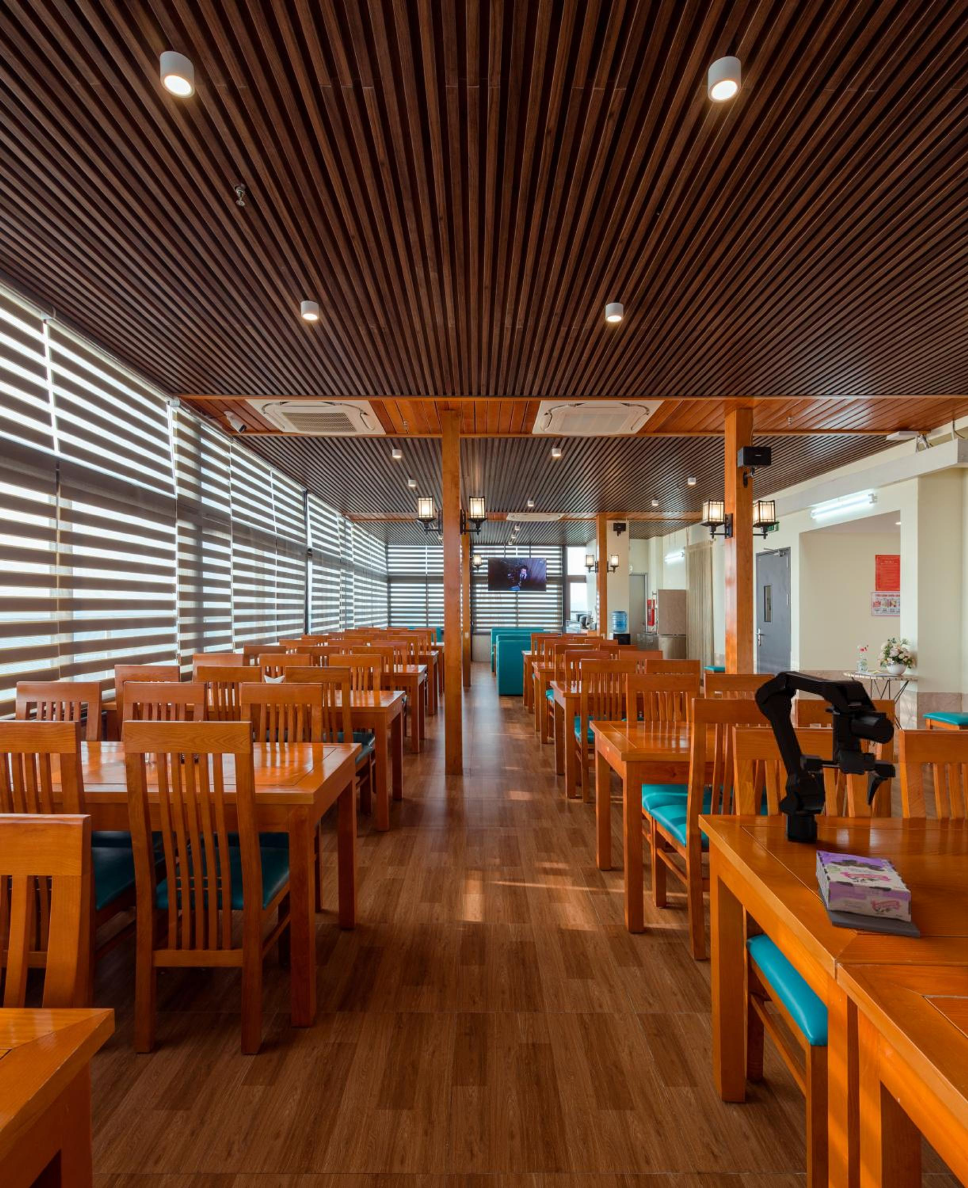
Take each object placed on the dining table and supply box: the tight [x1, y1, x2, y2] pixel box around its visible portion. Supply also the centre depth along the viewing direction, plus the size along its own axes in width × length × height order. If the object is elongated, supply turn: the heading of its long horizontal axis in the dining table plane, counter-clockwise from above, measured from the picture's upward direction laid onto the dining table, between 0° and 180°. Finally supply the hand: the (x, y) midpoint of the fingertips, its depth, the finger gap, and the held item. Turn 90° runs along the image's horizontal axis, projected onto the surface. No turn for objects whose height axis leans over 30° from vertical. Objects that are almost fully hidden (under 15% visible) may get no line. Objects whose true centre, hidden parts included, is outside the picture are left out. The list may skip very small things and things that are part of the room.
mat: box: [817, 887, 921, 938], centre depth 128 cm, size 14×15×1 cm
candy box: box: [815, 850, 912, 922], centre depth 132 cm, size 14×6×16 cm
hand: (846, 803), depth 154 cm, fingers open, 9 cm apart
